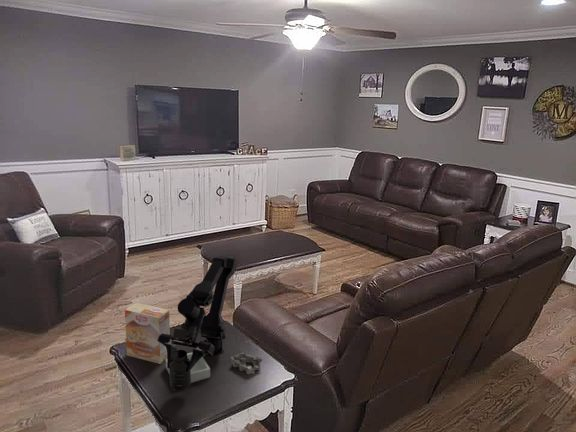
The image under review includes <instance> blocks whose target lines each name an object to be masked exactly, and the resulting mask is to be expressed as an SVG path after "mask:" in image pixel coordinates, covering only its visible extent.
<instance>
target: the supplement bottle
mask: <svg viewBox="0 0 576 432" xmlns="http://www.w3.org/2000/svg"><path fill="white" fill-rule="evenodd" d="M187 354H188V352H187V350H185V349H177V350H176V351H175V352H173V353H172V360H171V361H170V364H169V370H170V375H169V385H170V388H171V389H172V390H174V391H175V392H176V391H178V392H182V391H185V390H187V389H189V387H190V386H191V370H190V371H189V372H187V368H188V365H189V362H190V360H189V359H188V358H187Z"/></svg>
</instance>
